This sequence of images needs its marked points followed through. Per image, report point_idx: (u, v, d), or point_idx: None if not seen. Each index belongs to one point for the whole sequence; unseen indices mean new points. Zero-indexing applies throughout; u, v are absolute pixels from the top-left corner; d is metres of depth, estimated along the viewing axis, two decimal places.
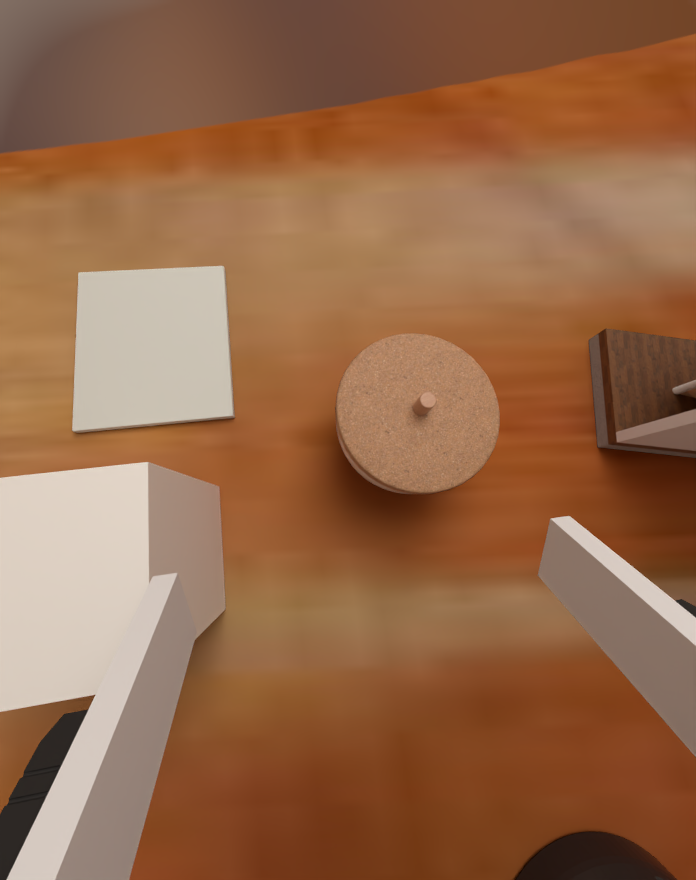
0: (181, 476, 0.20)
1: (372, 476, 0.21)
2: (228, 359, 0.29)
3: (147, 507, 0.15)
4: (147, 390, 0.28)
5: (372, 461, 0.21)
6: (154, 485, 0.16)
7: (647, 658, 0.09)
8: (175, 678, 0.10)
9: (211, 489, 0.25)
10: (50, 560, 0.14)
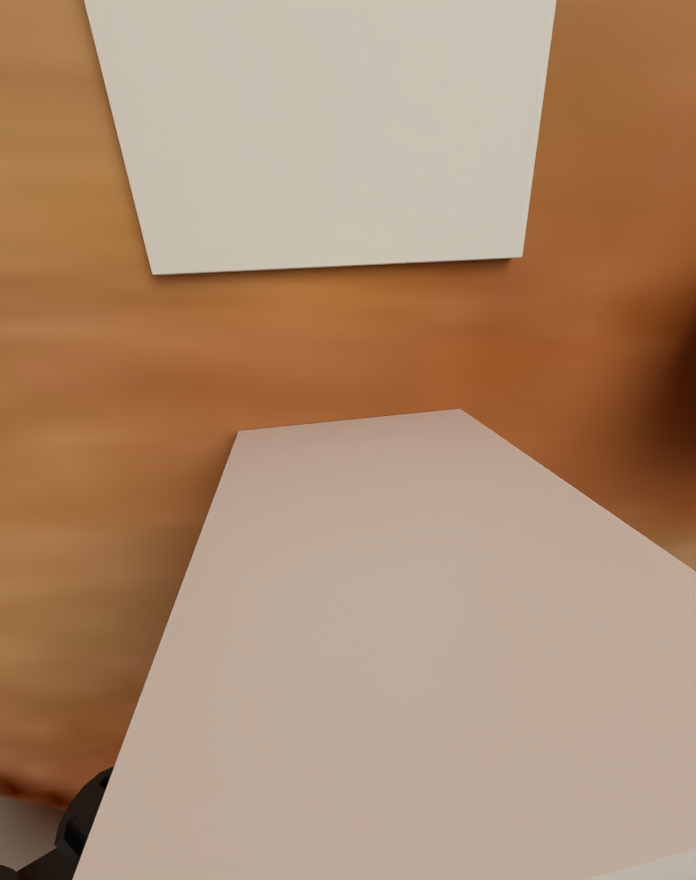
0: None
1: None
2: (544, 61, 0.10)
3: None
4: (326, 157, 0.10)
5: None
6: None
7: None
8: None
9: None
10: None
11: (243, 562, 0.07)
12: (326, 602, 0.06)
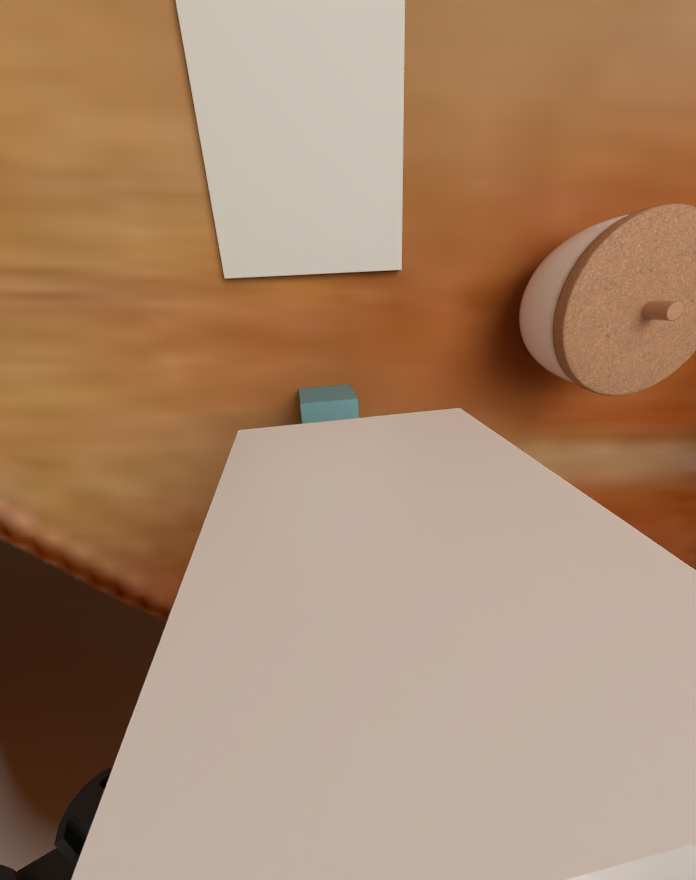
0: None
1: (574, 378, 0.22)
2: (401, 183, 0.22)
3: None
4: (304, 226, 0.22)
5: (582, 365, 0.21)
6: None
7: None
8: None
9: None
10: None
11: (243, 560, 0.07)
12: (326, 600, 0.06)
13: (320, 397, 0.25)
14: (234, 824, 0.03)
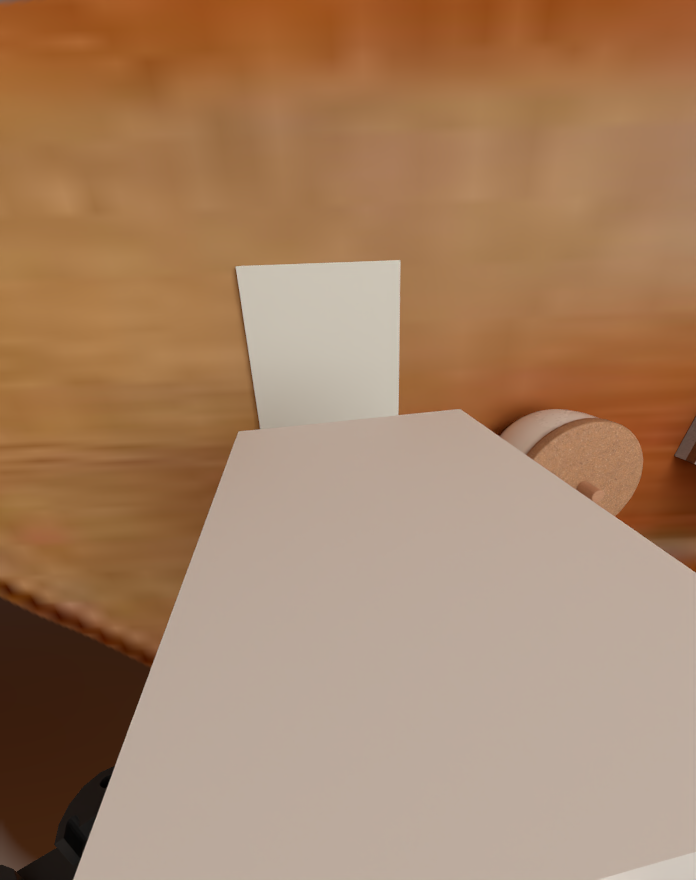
0: None
1: None
2: (397, 379, 0.29)
3: None
4: (324, 410, 0.30)
5: None
6: None
7: None
8: None
9: None
10: None
11: (243, 563, 0.07)
12: (325, 604, 0.06)
13: None
14: (234, 831, 0.03)
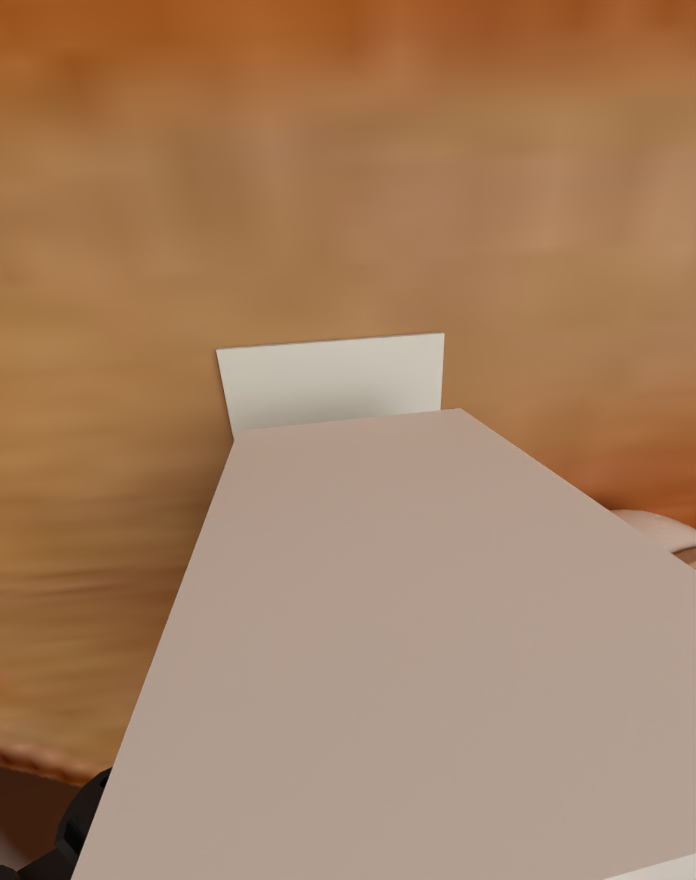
0: None
1: None
2: None
3: None
4: None
5: None
6: None
7: None
8: None
9: None
10: None
11: (243, 562, 0.07)
12: (326, 603, 0.06)
13: None
14: (233, 831, 0.03)
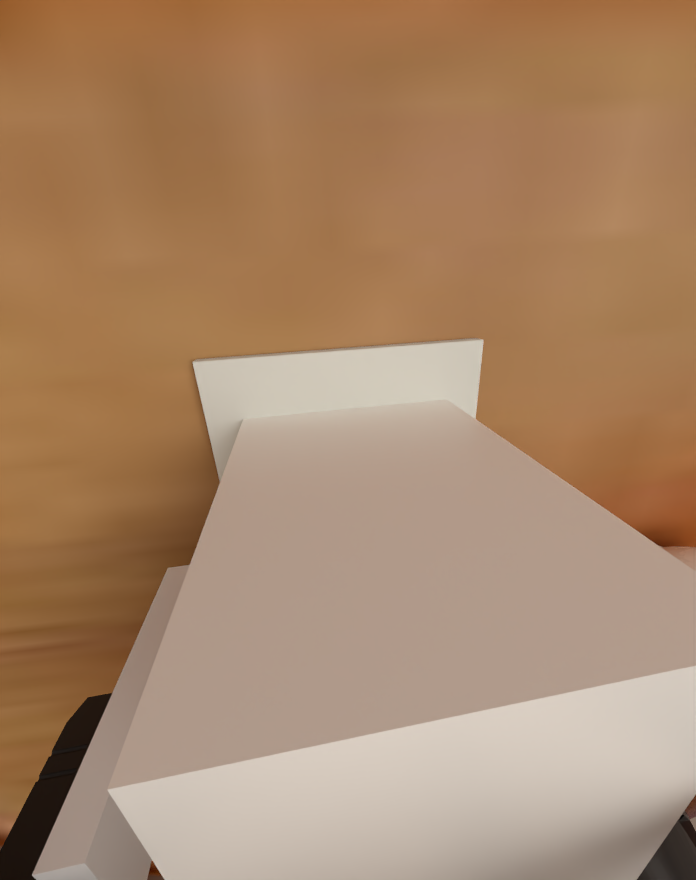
0: None
1: None
2: None
3: None
4: None
5: None
6: None
7: None
8: None
9: None
10: (503, 834, 0.06)
11: (251, 520, 0.08)
12: (320, 547, 0.07)
13: None
14: (250, 684, 0.05)
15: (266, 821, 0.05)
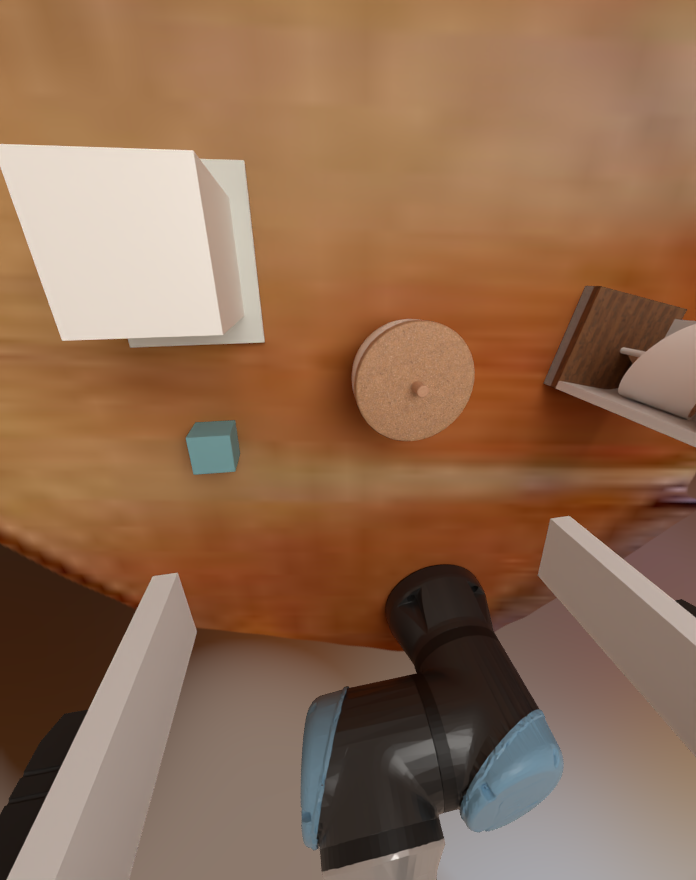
0: (209, 175, 0.21)
1: None
2: (257, 286, 0.31)
3: (200, 198, 0.18)
4: None
5: (375, 421, 0.31)
6: (199, 178, 0.19)
7: (647, 658, 0.09)
8: (175, 678, 0.10)
9: (225, 199, 0.26)
10: (131, 235, 0.19)
11: None
12: None
13: (204, 432, 0.34)
14: None
15: (39, 182, 0.17)
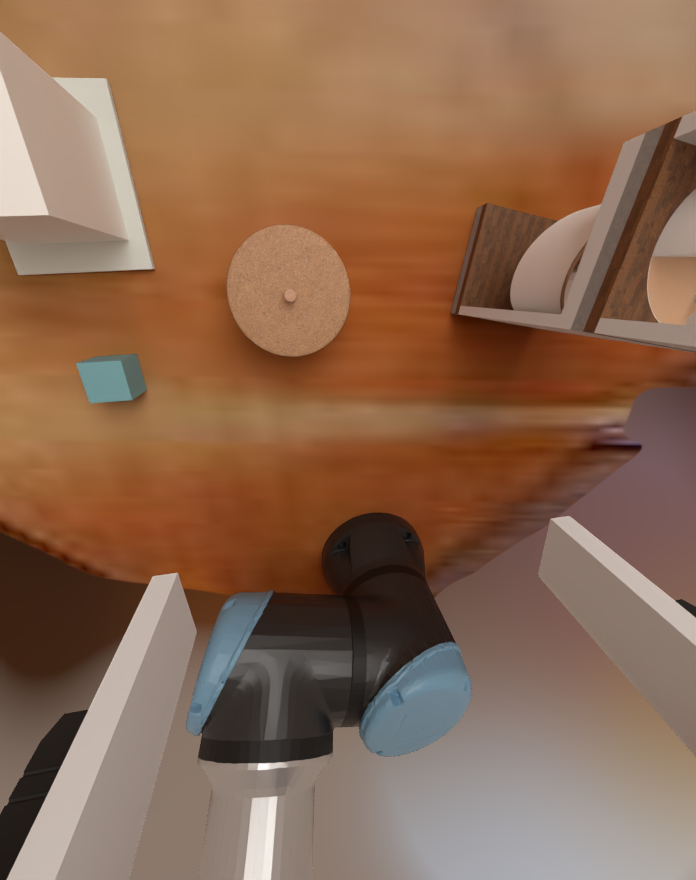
0: (34, 64, 0.22)
1: (254, 343, 0.32)
2: (137, 209, 0.32)
3: None
4: None
5: (253, 334, 0.31)
6: None
7: (647, 658, 0.09)
8: (175, 678, 0.10)
9: (84, 112, 0.27)
10: None
11: None
12: None
13: (98, 360, 0.35)
14: None
15: None
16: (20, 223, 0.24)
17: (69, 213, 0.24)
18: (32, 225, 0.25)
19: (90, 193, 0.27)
